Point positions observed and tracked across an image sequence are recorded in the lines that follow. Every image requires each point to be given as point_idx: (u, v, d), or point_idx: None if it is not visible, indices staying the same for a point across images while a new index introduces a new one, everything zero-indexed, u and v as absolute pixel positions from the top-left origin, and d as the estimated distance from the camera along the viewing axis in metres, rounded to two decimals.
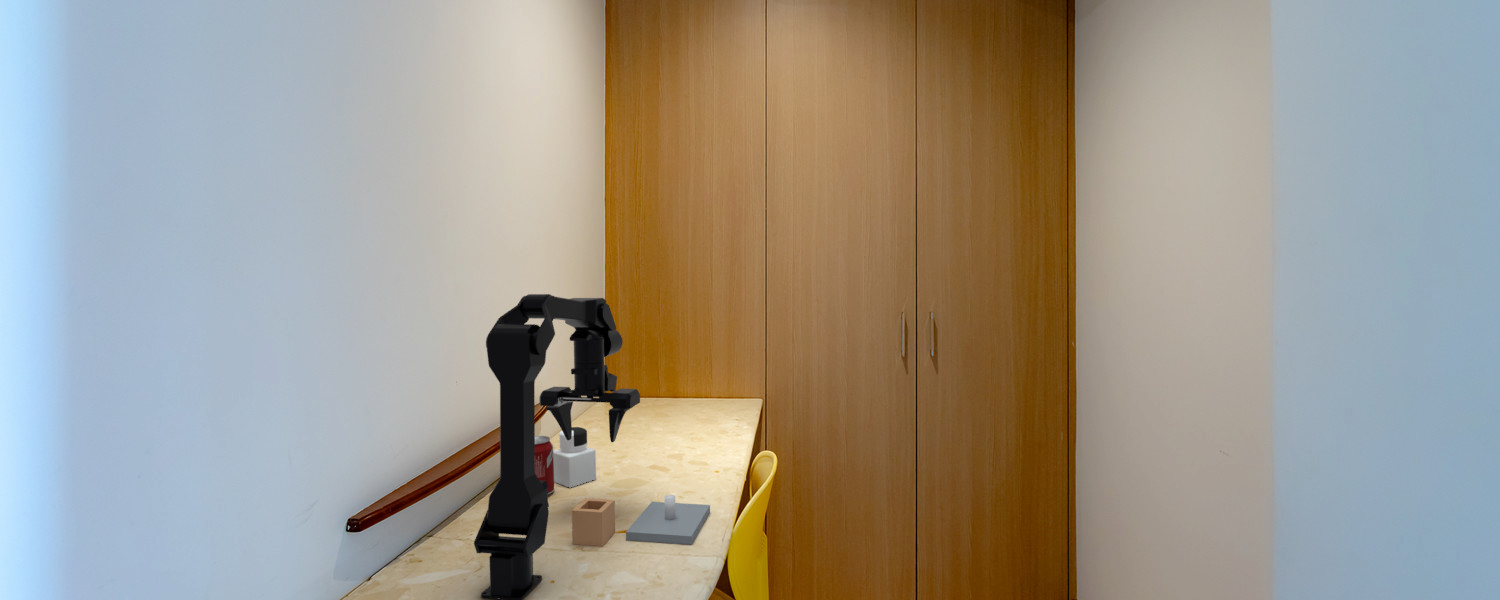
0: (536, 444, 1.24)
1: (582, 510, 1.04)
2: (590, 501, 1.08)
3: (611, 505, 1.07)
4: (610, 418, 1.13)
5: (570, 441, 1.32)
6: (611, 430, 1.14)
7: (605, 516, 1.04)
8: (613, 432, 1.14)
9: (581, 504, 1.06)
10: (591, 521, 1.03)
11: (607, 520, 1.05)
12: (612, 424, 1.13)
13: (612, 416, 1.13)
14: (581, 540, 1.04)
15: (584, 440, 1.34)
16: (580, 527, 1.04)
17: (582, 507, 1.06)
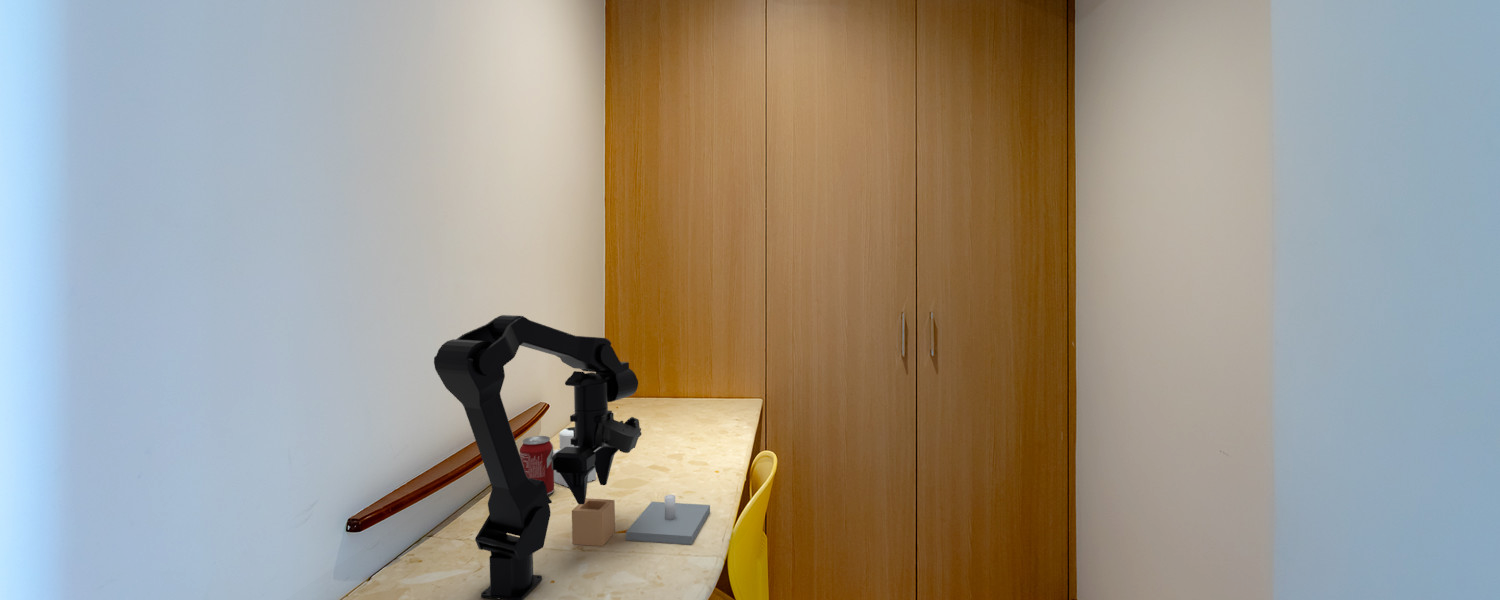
0: (536, 444, 1.24)
1: (582, 510, 1.04)
2: (590, 501, 1.08)
3: (611, 505, 1.07)
4: None
5: (570, 441, 1.32)
6: None
7: (605, 516, 1.04)
8: (572, 492, 1.01)
9: (581, 504, 1.06)
10: (591, 521, 1.03)
11: (607, 520, 1.05)
12: None
13: None
14: (581, 540, 1.04)
15: None
16: (580, 527, 1.04)
17: (582, 507, 1.06)
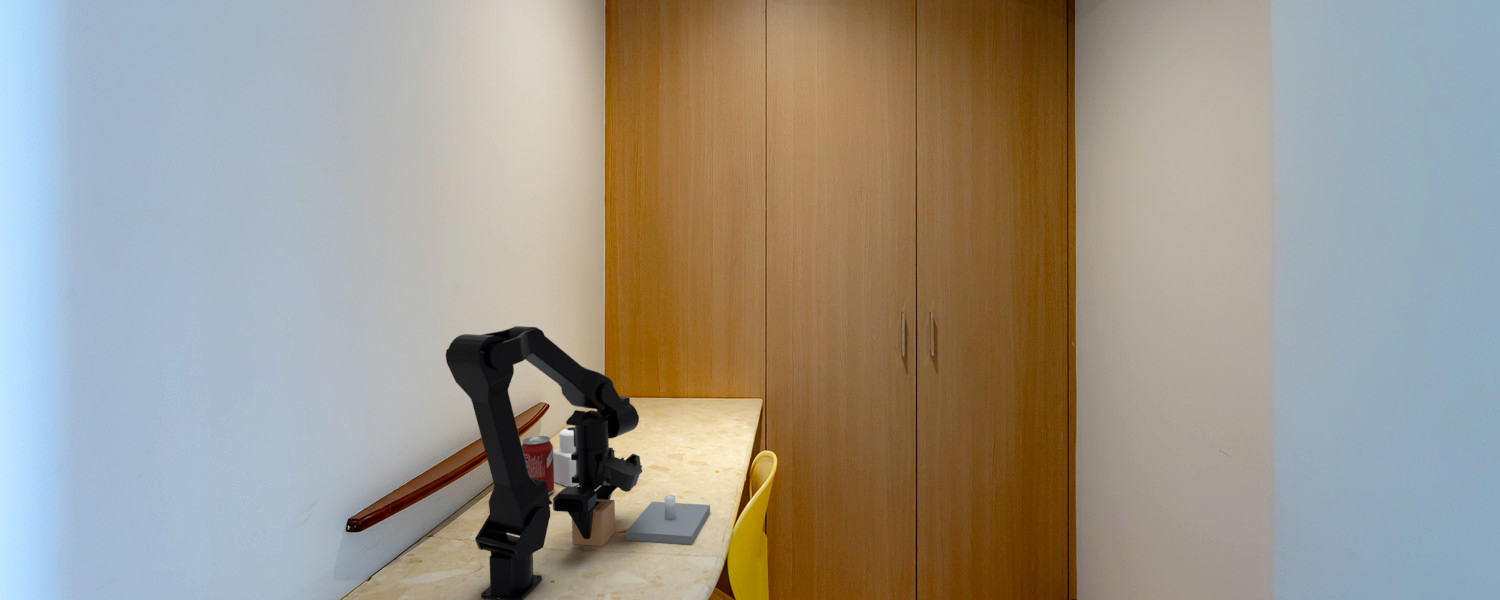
0: (536, 444, 1.24)
1: None
2: None
3: (611, 505, 1.07)
4: None
5: (570, 441, 1.32)
6: None
7: (605, 516, 1.04)
8: (578, 527, 1.03)
9: None
10: None
11: (607, 520, 1.05)
12: None
13: None
14: (581, 540, 1.04)
15: None
16: None
17: None
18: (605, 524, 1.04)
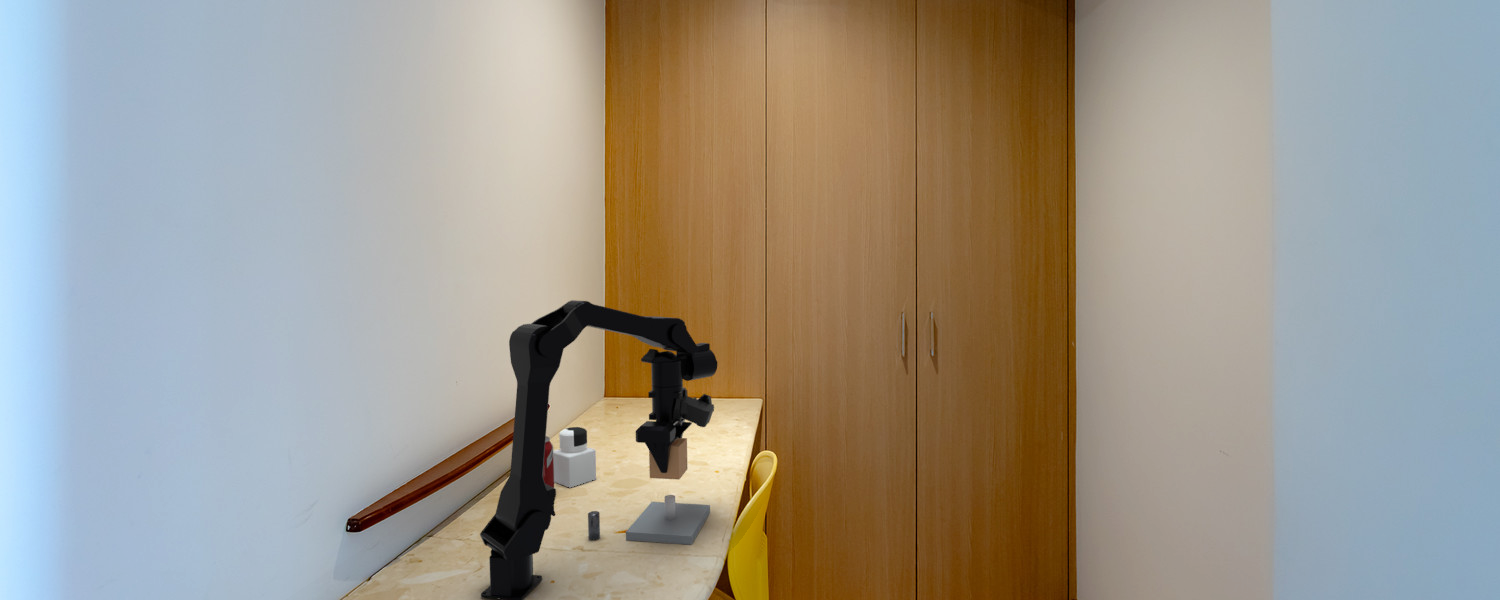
0: None
1: None
2: None
3: (684, 442, 1.11)
4: None
5: (570, 441, 1.32)
6: None
7: (681, 452, 1.09)
8: (656, 461, 1.07)
9: None
10: None
11: (682, 456, 1.10)
12: None
13: None
14: (658, 474, 1.08)
15: (584, 440, 1.34)
16: None
17: None
18: (681, 459, 1.09)
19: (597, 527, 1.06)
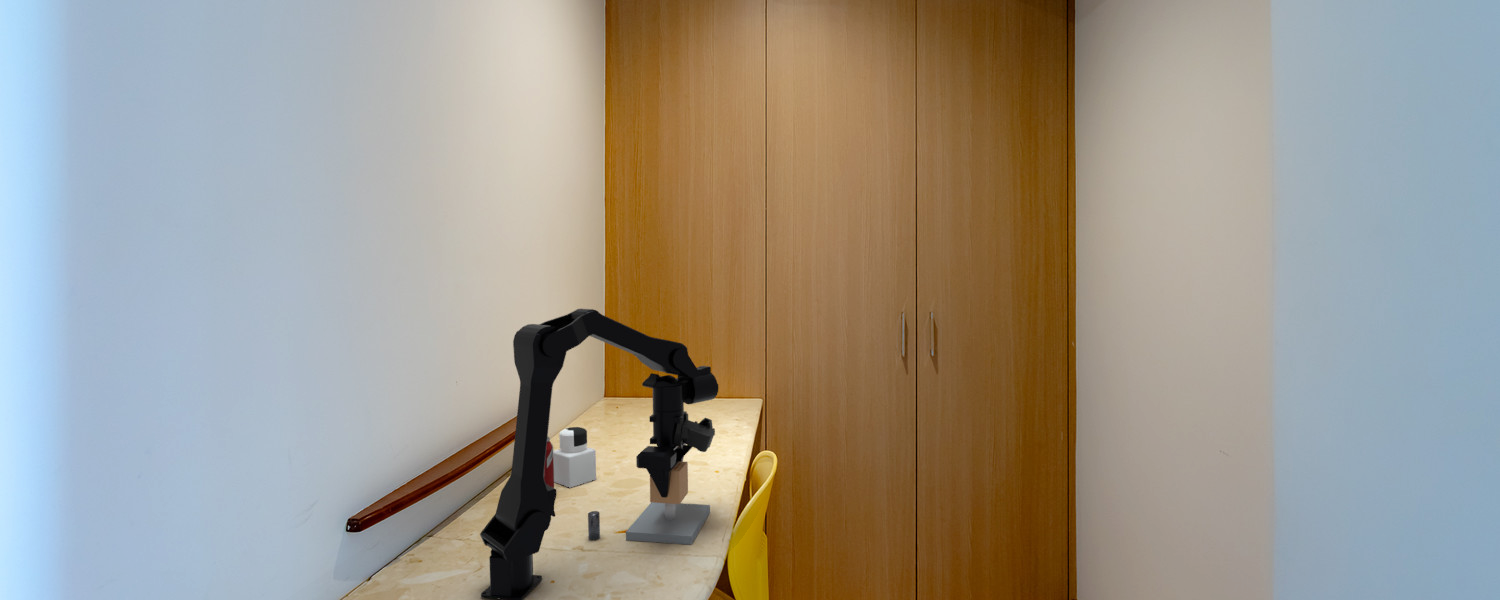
0: None
1: None
2: None
3: (685, 466, 1.11)
4: None
5: (570, 441, 1.32)
6: None
7: (681, 476, 1.09)
8: (656, 486, 1.07)
9: None
10: None
11: (682, 480, 1.10)
12: None
13: None
14: (659, 498, 1.08)
15: (584, 440, 1.34)
16: None
17: None
18: (681, 483, 1.09)
19: (597, 527, 1.06)
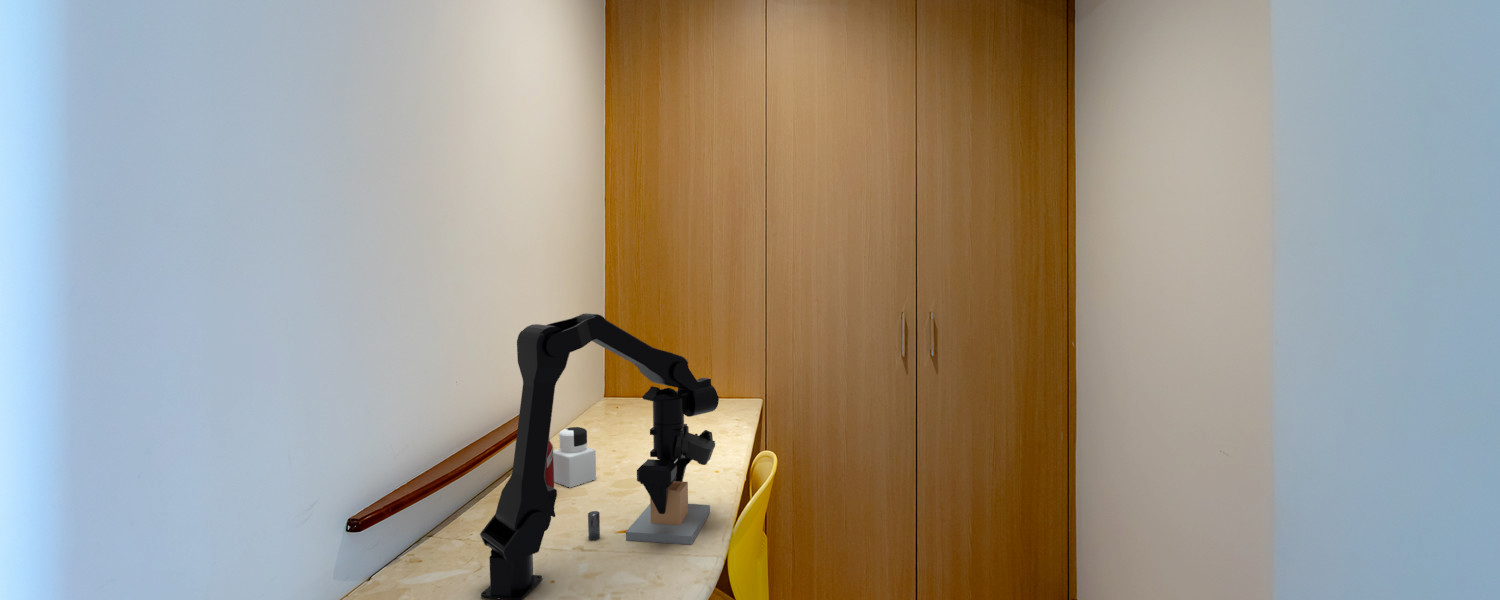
0: None
1: None
2: None
3: (685, 486, 1.12)
4: None
5: (570, 441, 1.32)
6: None
7: (682, 497, 1.09)
8: (654, 502, 1.06)
9: None
10: (669, 501, 1.08)
11: (683, 500, 1.10)
12: None
13: None
14: (659, 519, 1.08)
15: (584, 440, 1.34)
16: None
17: None
18: (682, 504, 1.09)
19: (597, 527, 1.06)
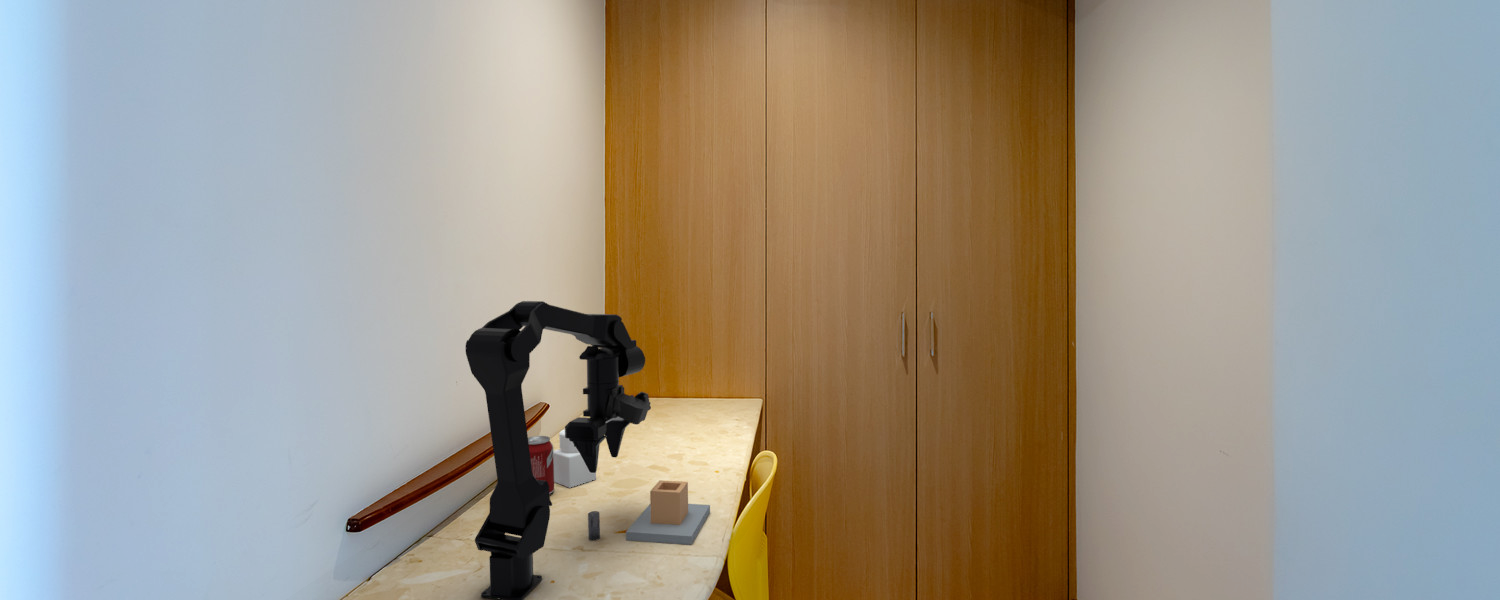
0: (536, 444, 1.24)
1: (660, 491, 1.08)
2: (664, 483, 1.13)
3: (685, 486, 1.12)
4: None
5: (570, 441, 1.32)
6: None
7: (682, 497, 1.09)
8: (584, 461, 1.06)
9: (657, 486, 1.11)
10: (669, 501, 1.08)
11: (683, 500, 1.10)
12: None
13: None
14: (659, 519, 1.08)
15: None
16: (658, 507, 1.08)
17: (659, 488, 1.10)
18: (682, 504, 1.09)
19: (597, 527, 1.06)
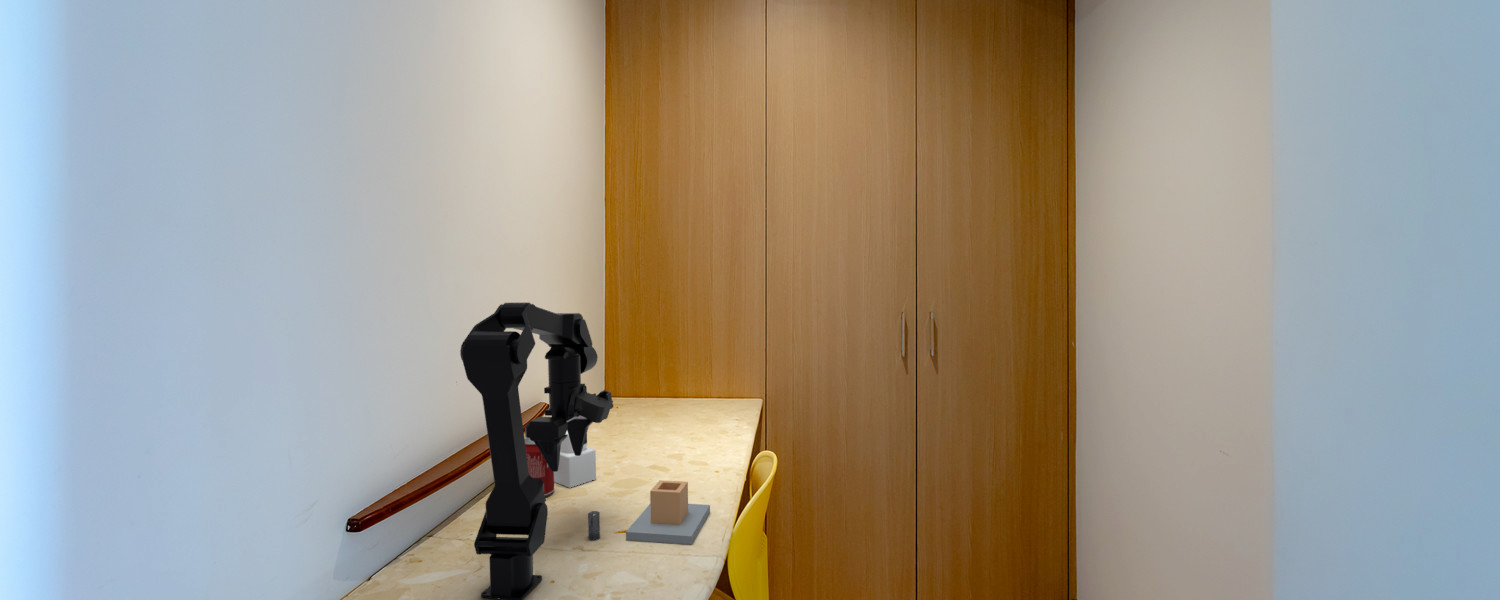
0: None
1: (660, 491, 1.08)
2: (664, 483, 1.13)
3: (685, 486, 1.12)
4: None
5: None
6: None
7: (682, 497, 1.09)
8: (546, 460, 1.06)
9: (657, 486, 1.11)
10: (669, 501, 1.08)
11: (683, 500, 1.10)
12: None
13: None
14: (659, 519, 1.08)
15: None
16: (658, 507, 1.08)
17: (659, 488, 1.10)
18: (682, 504, 1.09)
19: (597, 527, 1.06)
